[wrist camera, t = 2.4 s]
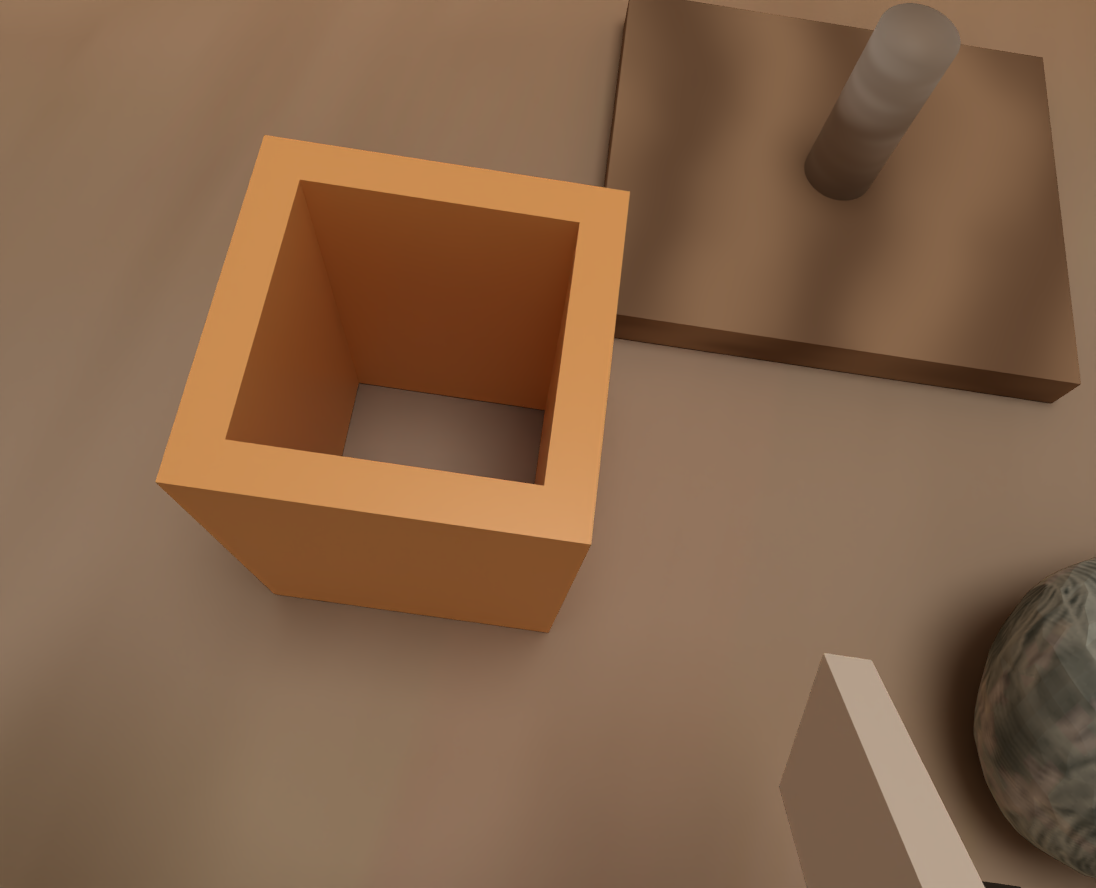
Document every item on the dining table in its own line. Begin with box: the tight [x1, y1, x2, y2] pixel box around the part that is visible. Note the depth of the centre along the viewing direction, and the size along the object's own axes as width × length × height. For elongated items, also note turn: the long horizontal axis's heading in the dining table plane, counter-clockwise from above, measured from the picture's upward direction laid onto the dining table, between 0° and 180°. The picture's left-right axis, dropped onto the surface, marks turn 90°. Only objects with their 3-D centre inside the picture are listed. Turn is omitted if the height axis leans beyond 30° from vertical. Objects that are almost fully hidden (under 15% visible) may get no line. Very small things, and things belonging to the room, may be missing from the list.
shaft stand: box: [604, 0, 1081, 403], centre depth 28 cm, size 16×14×8 cm
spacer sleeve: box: [156, 135, 630, 633], centre depth 22 cm, size 8×8×10 cm
